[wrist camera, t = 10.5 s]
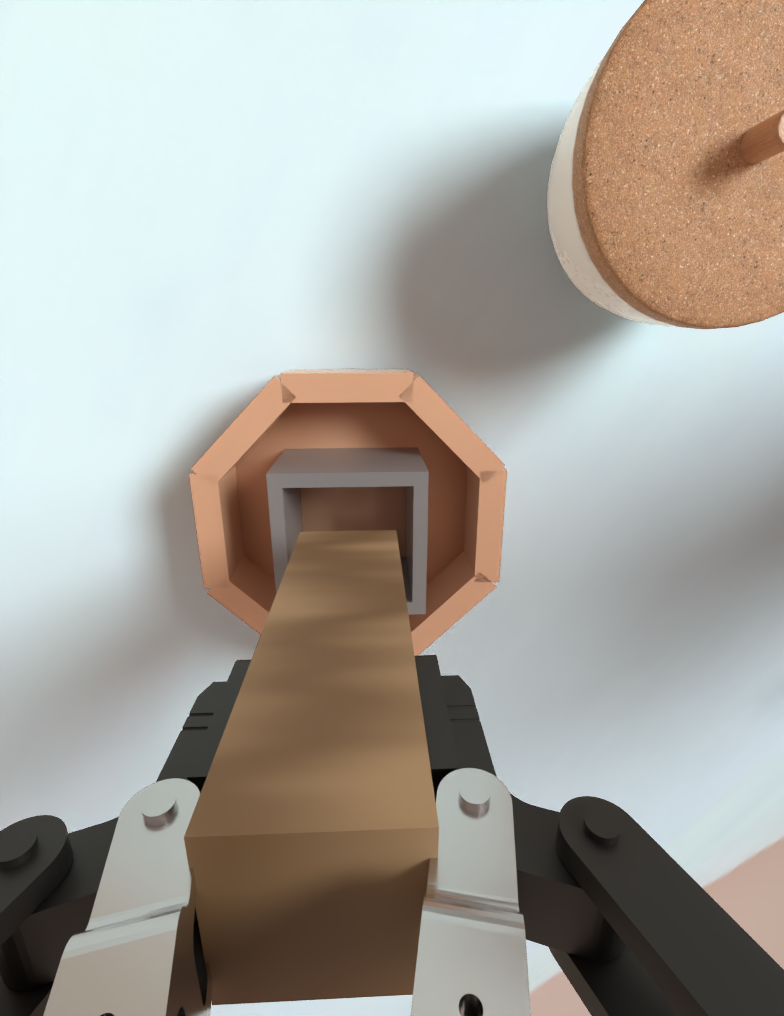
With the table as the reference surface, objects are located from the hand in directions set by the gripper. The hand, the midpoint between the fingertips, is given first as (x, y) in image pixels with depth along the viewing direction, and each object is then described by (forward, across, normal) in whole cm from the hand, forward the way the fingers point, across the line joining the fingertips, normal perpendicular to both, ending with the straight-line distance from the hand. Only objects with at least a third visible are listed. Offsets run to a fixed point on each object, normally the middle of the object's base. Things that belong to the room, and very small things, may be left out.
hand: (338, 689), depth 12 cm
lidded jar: (+15, -13, -14) cm, 25 cm away
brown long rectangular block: (+7, 0, 0) cm, 7 cm away
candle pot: (+15, 0, 0) cm, 15 cm away
